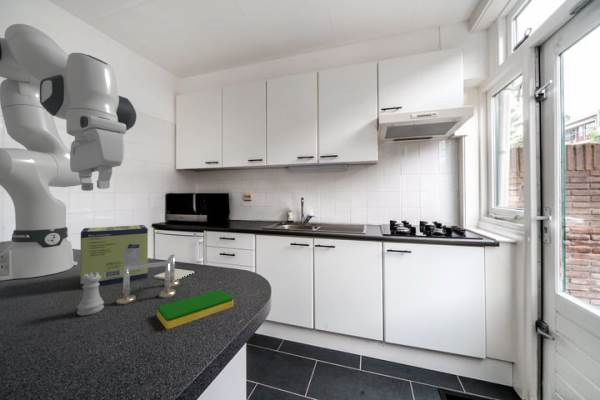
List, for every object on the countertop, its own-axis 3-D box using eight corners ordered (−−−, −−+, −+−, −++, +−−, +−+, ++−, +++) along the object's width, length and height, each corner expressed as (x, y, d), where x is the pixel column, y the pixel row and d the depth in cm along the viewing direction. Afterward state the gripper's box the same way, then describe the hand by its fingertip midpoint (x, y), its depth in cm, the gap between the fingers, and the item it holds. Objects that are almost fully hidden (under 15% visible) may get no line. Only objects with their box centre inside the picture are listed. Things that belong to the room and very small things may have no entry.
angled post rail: (112, 303, 54) (113, 266, 54) (169, 281, 69) (170, 252, 69) (142, 310, 51) (143, 271, 51) (196, 285, 66) (196, 255, 66)
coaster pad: (153, 277, 72) (153, 275, 72) (175, 270, 79) (175, 268, 79) (174, 280, 69) (174, 278, 69) (194, 273, 77) (194, 271, 77)
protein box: (82, 279, 70) (82, 227, 70) (144, 270, 80) (144, 224, 80) (79, 290, 62) (79, 231, 62) (148, 278, 72) (149, 227, 72)
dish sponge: (156, 318, 49) (156, 306, 49) (219, 298, 58) (219, 289, 58) (166, 331, 43) (166, 318, 43) (234, 308, 53) (234, 297, 53)
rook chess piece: (87, 317, 47) (88, 278, 47) (70, 315, 48) (71, 276, 48) (109, 307, 52) (110, 271, 52) (93, 305, 53) (94, 270, 53)
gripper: (60, 133, 56) (61, 191, 56) (92, 115, 45) (94, 186, 45) (94, 139, 61) (95, 191, 61) (130, 123, 50) (131, 187, 50)
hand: (95, 189), depth 53 cm, fingers open, 8 cm apart
